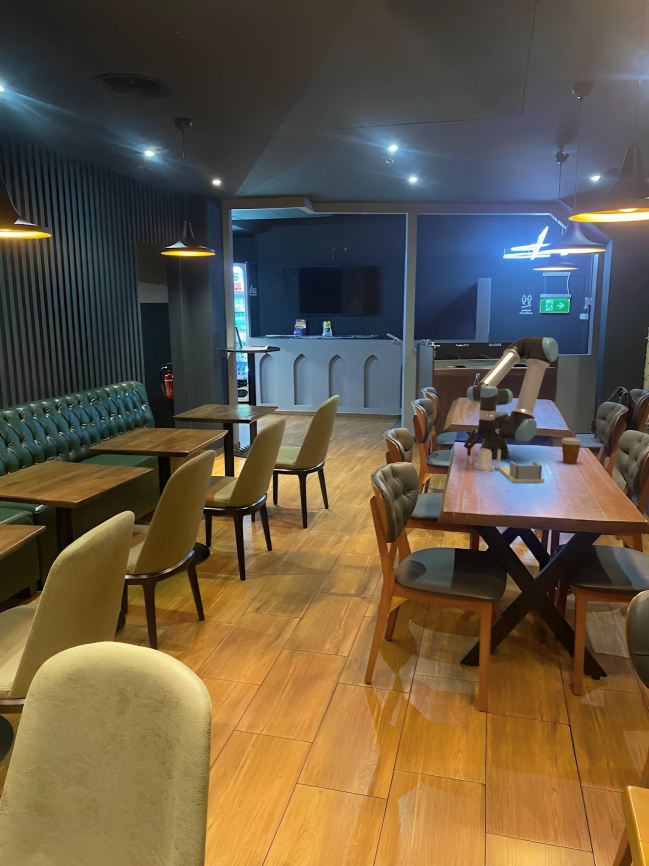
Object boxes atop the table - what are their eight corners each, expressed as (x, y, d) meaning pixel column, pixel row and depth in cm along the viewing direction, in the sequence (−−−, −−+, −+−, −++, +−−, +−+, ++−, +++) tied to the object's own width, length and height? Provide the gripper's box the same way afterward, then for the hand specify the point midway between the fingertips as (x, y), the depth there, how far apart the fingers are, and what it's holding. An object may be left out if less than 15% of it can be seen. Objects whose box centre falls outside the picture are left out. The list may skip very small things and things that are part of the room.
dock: (497, 469, 299) (498, 454, 297) (526, 469, 299) (527, 454, 297) (512, 482, 276) (513, 465, 275) (543, 482, 276) (544, 465, 275)
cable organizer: (483, 466, 305) (484, 446, 303) (495, 470, 296) (496, 450, 294) (473, 467, 303) (474, 447, 301) (486, 471, 294) (487, 451, 292)
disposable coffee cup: (578, 460, 315) (580, 437, 313) (581, 465, 306) (583, 441, 304) (558, 459, 318) (560, 436, 315) (560, 464, 309) (562, 440, 306)
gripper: (462, 419, 291) (460, 463, 295) (515, 420, 291) (512, 464, 295) (459, 417, 298) (456, 460, 302) (510, 418, 299) (507, 461, 303)
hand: (484, 462), depth 299 cm, fingers open, 13 cm apart
